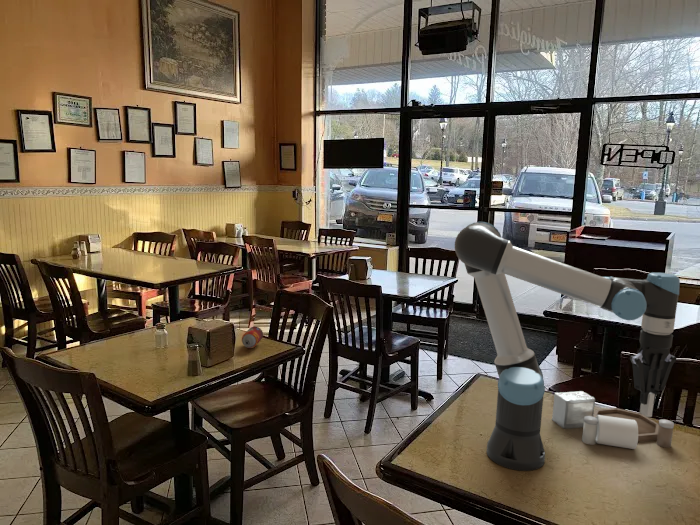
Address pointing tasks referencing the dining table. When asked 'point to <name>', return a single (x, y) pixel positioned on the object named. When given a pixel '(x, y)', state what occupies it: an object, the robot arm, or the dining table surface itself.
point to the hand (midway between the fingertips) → (645, 414)
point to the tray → (645, 424)
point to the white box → (572, 408)
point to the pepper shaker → (665, 433)
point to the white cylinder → (617, 432)
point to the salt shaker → (589, 430)
